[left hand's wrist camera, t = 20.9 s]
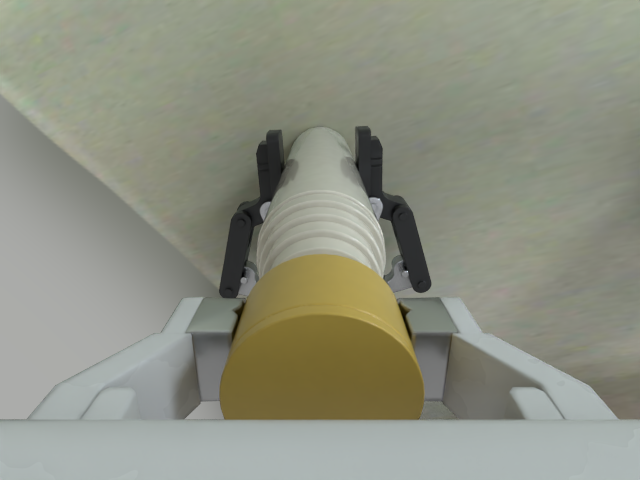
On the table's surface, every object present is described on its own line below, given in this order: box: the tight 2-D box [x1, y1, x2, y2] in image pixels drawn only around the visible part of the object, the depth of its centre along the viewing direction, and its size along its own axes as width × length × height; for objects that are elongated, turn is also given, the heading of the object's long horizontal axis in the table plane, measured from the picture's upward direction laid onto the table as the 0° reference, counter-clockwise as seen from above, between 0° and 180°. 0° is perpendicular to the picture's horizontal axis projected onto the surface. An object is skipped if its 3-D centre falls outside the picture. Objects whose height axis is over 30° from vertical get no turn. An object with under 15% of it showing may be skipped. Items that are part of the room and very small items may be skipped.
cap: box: [219, 254, 425, 420], centre depth 9 cm, size 4×4×3 cm
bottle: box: [256, 127, 386, 280], centre depth 19 cm, size 4×4×24 cm
